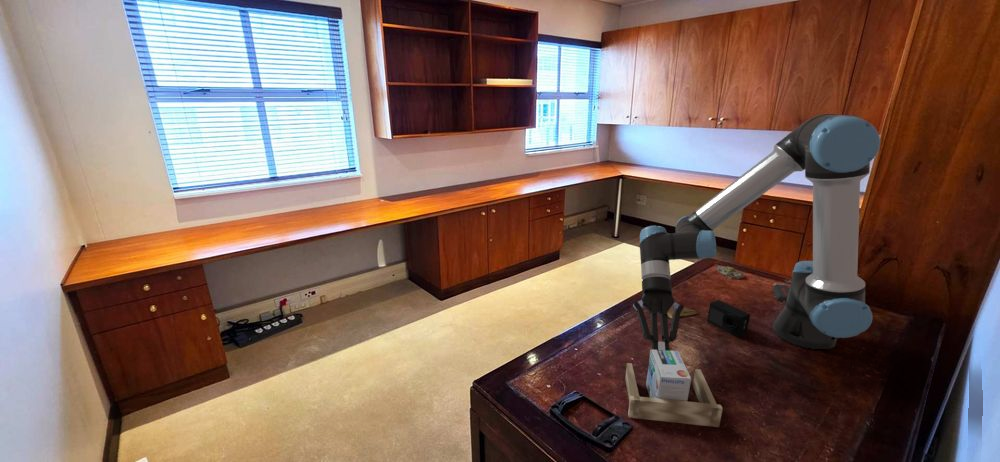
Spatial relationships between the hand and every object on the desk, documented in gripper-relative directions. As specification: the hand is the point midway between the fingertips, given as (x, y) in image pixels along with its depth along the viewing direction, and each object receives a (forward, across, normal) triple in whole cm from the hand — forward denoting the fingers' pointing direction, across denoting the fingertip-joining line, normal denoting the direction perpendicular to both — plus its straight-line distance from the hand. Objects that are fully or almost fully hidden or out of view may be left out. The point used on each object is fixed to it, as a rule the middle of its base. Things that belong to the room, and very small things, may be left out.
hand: (662, 369), depth 101 cm
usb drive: (-35, -53, -42) cm, 76 cm away
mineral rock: (-47, -41, -54) cm, 82 cm away
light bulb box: (+8, 0, +2) cm, 8 cm away
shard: (-23, -12, -30) cm, 40 cm away
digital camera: (-17, -25, -23) cm, 38 cm away
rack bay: (+7, 0, +2) cm, 7 cm away
